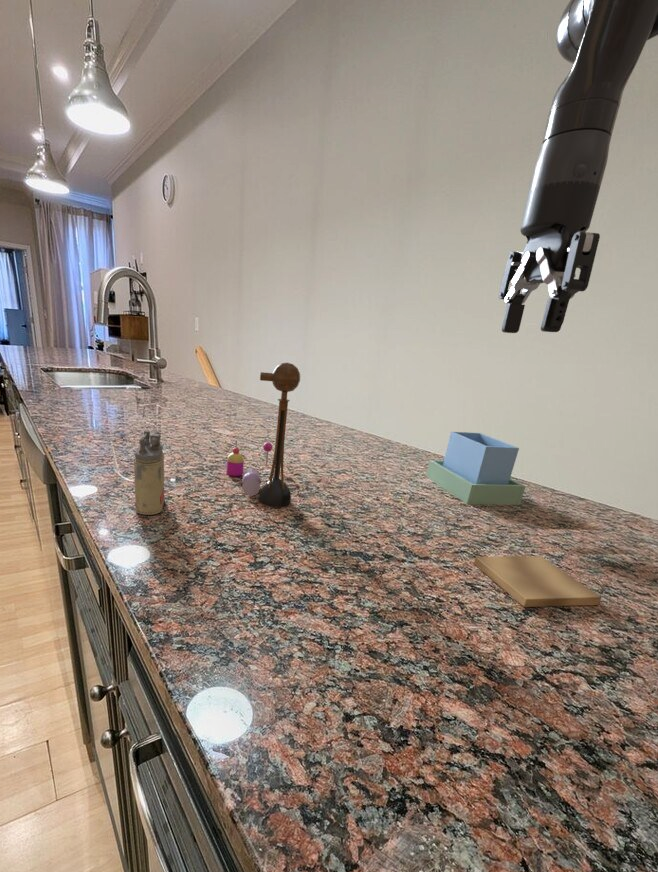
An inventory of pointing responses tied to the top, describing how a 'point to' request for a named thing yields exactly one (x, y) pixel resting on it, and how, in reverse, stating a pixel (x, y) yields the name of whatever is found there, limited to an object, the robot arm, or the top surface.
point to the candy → (250, 475)
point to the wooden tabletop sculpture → (279, 435)
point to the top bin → (480, 458)
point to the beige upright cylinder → (149, 475)
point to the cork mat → (536, 581)
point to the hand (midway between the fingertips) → (528, 332)
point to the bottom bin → (474, 487)
